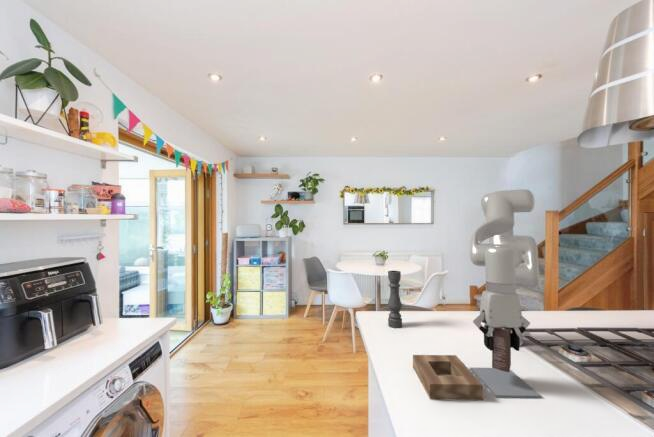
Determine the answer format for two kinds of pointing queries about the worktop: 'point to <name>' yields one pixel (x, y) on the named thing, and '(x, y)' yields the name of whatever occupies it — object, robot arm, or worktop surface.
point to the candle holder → (394, 300)
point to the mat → (504, 383)
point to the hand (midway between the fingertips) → (501, 348)
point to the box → (501, 349)
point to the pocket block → (447, 378)
